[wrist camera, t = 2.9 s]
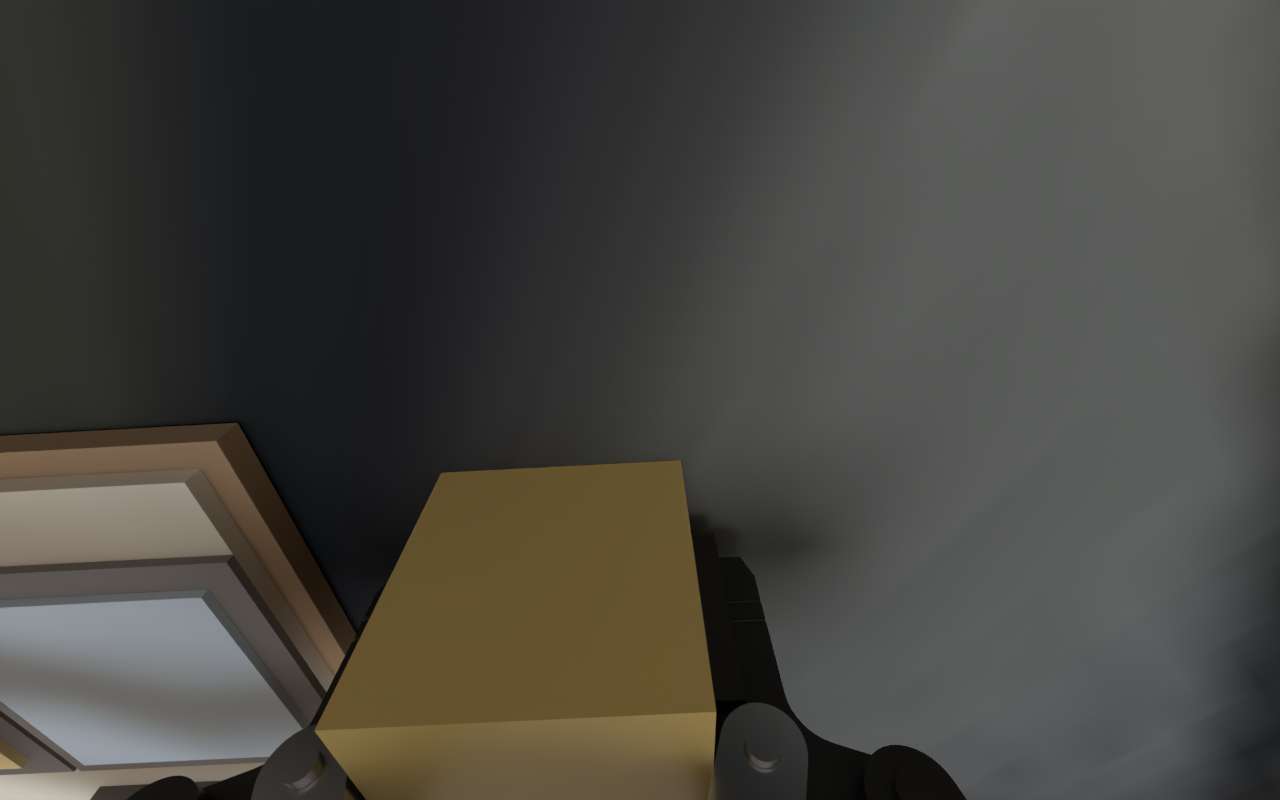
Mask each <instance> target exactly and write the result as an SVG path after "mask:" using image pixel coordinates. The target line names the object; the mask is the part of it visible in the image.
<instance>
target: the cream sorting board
mask: <svg viewBox="0 0 1280 800" xmlns="http://www.w3.org/2000/svg"><path fill="white" fill-rule="evenodd" d="M355 635H356V633H355V631H354V629H353V627H352V626H351V624H350V622H349V620H348V619H347V617H346V615H345V613H344V611H343V610H342V608H341V606H340V604H339V603H338V601H337V599H336V597H335V595H334V594H333V592H332V590H331V588H330V586H329V585H328V583H327V581H326V579H325V578H324V576H323V574H322V572H321V570H320V569H319V567H318V565H317V563H316V562H315V560H314V558H313V556H312V554H311V553H310V551H309V549H308V547H307V546H306V544H305V542H304V540H303V538H302V537H301V535H300V533H299V531H298V529H297V528H296V526H295V524H294V522H293V521H292V519H291V517H290V515H289V513H288V512H287V510H286V508H285V506H284V505H283V503H282V501H281V499H280V497H279V496H278V494H277V492H276V490H275V488H274V487H273V485H272V483H271V481H270V480H269V478H268V476H267V474H266V472H265V471H264V469H263V467H262V465H261V464H260V462H259V460H258V458H257V456H256V455H255V453H254V451H253V449H252V448H251V446H250V444H249V442H248V440H247V439H246V437H245V435H244V433H243V431H242V430H241V428H240V426H239V424H238V423H225V424H207V425H189V426H171V427H153V428H134V429H116V430H98V431H80V432H61V433H43V434H25V435H7V436H0V800H126V799H127V798H129V797H130V796H131V795H133V794H134V793H135V792H137V791H139V790H140V789H142V788H143V787H145V786H147V785H149V784H151V783H153V782H155V781H157V780H160V779H162V778H166V777H170V776H179V775H180V776H186V777H188V778H190V779H192V780H193V781H194V782H195V783H196V784H197V785H198V786H199V787H201V788H204V787H207V786H209V785H212V784H215V783H217V782H220V781H223V780H225V779H228V778H231V777H233V776H236V775H238V774H241V773H244V772H246V771H249V770H252V769H254V768H257V767H259V766H261V765H263V764H265V762H266V761H267V759H268V758H269V757H270V756H271V754H272V753H273V752H274V751H275V750H276V749H277V748H278V747H279V746H280V745H281V744H282V743H283V742H284V741H285V740H287V739H288V738H289V737H291V736H292V735H294V734H295V733H297V732H299V731H300V730H302V729H304V728H307V727H308V726H309V724H310V723H311V721H312V720H313V718H314V716H315V714H316V712H317V710H318V708H319V706H320V705H321V703H322V701H323V699H324V697H325V695H326V693H327V691H328V689H329V687H330V685H331V683H332V681H333V679H334V677H335V675H336V673H337V671H338V669H339V667H340V665H341V663H342V661H343V659H344V657H345V655H346V653H347V651H348V649H349V647H350V645H351V643H352V642H353V641H354V640H355Z"/></svg>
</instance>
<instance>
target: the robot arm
mask: <svg viewBox="0 0 1280 800" xmlns="http://www.w3.org/2000/svg"><path fill="white" fill-rule="evenodd" d="M691 536H692V543H693V550H694V557H695V564H696V571H697V578H698V585H699V592H700V599H701V606H702V613H703V621H704V628H705V635H706V642H707V649H708V656H709V663H710V670H711V677H712V684H713V691H714V698H715V705H716V730H715V749H714V769H713V774H712V780H711V785H710V790H709V795H708V800H966V798H965V797H964V795H963V794H962V792H961V791H960V789H959V788H958V786H957V785H956V784H955V782H954V781H953V779H952V778H951V777H950V776H949V774H948V773H947V772H946V771H945V770H944V769H943V768H942V767H941V766H940V765H939V764H938V763H937V762H936V761H934V760H933V759H932V758H930V757H929V756H927V755H926V754H924V753H922V752H920V751H918V750H916V749H913V748H910V747H907V746H902V745H889V746H885V747H882V748H880V749H878V750H877V751H876V752H874V753H873V754H872V755H870V754H866V753H863V752H860V751H857V750H854V749H850V748H847V747H844V746H841V745H838V744H834V743H832V742H829V741H827V740H824V739H822V738H821V737H819V736H817V735H815V734H814V733H813V732H811V731H810V730H809V729H807V728H806V727H805V726H804V725H803V724H802V723H801V722H800V721H799V719H798V718H797V717H796V716H795V714H794V713H793V711H792V710H791V708H790V706H789V704H788V702H787V699H786V696H785V693H784V689H783V686H782V682H781V678H780V674H779V670H778V666H777V662H776V658H775V655H774V651H773V647H772V643H771V639H770V635H769V631H768V627H767V624H766V622H765V616H764V612H763V608H762V604H761V603H760V597H759V593H758V589H757V585H756V581H755V577H754V575H753V574H752V572H751V571H750V570H749V568H748V567H747V566H746V565H745V563H744V562H743V561H742V559H741V558H740V557H725V558H719V557H718V552H717V547H716V542H715V537H714V534H713V533H705V534H691ZM386 584H387V583H386ZM386 584H385V585H384V586H383V587H382V588H381V589H380V590H379V591H378V592H377V593H376V595H375V597H374V599H373V601H372V603H371V605H370V607H369V609H368V611H367V613H366V615H365V620H364V622H362V623H361V625H360V627H359V629H358V631H357V633H356V635H355V640H354V641H353V642H352V643H351V645H350V647H349V649H348V651H347V653H346V655H345V657H344V659H343V661H342V663H341V665H340V667H339V669H338V671H337V673H336V675H335V677H334V679H333V681H332V683H331V685H330V687H329V689H328V691H327V693H326V695H325V697H324V699H323V701H322V703H321V705H320V706H319V708H318V710H317V712H316V714H315V716H314V718H313V720H312V721H311V723H310V724H309V726H308V727H307V728H304V729H302V730H300V731H299V732H297V733H295V734H294V735H292V736H291V737H289V738H288V739H287V740H285V741H284V742H283V743H282V744H281V745H280V746H279V747H278V748H277V749H276V750H275V751H274V752H273V753H272V754H271V756H270V757H269V758H268V759H267V761H266V762H265V764H263V765H261V766H259V767H257V768H254V769H252V770H249V771H246V772H244V773H241V774H238V775H236V776H233V777H231V778H228V779H225V780H223V781H220V782H217V783H215V784H212V785H209V786H207V787H204V788H201V787H199V786H198V785H197V784H196V783H195V782H194V781H193V780H192V779H190V778H188V777H186V776H180V775H179V776H170V777H166V778H162V779H160V780H157V781H155V782H153V783H151V784H149V785H147V786H145V787H143V788H142V789H140V790H139V791H137V792H135V793H134V794H133V795H131V796H130V797H129V798H127V799H126V800H366V799H365V798H364V796H363V795H362V794H361V792H360V791H359V790H358V788H357V787H356V786H355V784H354V783H353V782H352V780H351V779H350V778H349V776H348V775H347V774H346V772H345V771H344V770H343V768H342V767H341V766H340V764H339V763H338V762H337V760H336V759H335V758H334V756H333V755H332V754H331V752H330V751H329V750H328V748H327V747H326V746H325V744H324V743H323V742H322V740H321V739H320V738H319V736H318V735H317V734H316V732H315V728H316V726H317V724H318V722H319V720H320V718H321V716H322V714H323V712H324V710H325V708H326V706H327V704H328V702H329V700H330V698H331V696H332V694H333V692H334V690H335V688H336V686H337V684H338V682H339V680H340V678H341V676H342V674H343V672H344V670H345V667H346V665H347V663H348V661H349V659H350V657H351V655H352V653H353V651H354V649H355V647H356V645H357V643H358V641H359V639H360V637H361V635H362V633H363V631H364V629H365V627H366V625H367V623H368V621H369V619H370V617H371V615H372V613H373V611H374V609H375V606H376V604H377V602H378V600H379V598H380V596H381V594H382V592H383V590H384V588H385V586H386Z"/></svg>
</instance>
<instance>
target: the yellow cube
mask: <svg viewBox="0 0 1280 800" xmlns="http://www.w3.org/2000/svg"><path fill="white" fill-rule="evenodd" d="M715 730H716V705H715V698H714V691H713V684H712V677H711V670H710V663H709V656H708V649H707V642H706V635H705V628H704V621H703V613H702V606H701V599H700V592H699V585H698V578H697V571H696V564H695V557H694V550H693V543H692V536H691V529H690V522H689V514H688V507H687V500H686V493H685V486H684V479H683V472H682V465H681V460H675V461H656V462H637V463H617V464H598V465H579V466H560V467H541V468H522V469H503V470H484V471H465V472H445V473H441V474H440V476H439V478H438V480H437V482H436V485H435V487H434V489H433V491H432V493H431V495H430V497H429V499H428V501H427V503H426V505H425V507H424V509H423V511H422V513H421V515H420V517H419V519H418V521H417V523H416V525H415V527H414V529H413V531H412V533H411V535H410V537H409V539H408V541H407V543H406V545H405V548H404V550H403V552H402V554H401V556H400V558H399V560H398V562H397V564H396V566H395V568H394V570H393V572H392V574H391V576H390V578H389V580H388V582H387V584H386V586H385V588H384V590H383V592H382V594H381V596H380V598H379V600H378V602H377V604H376V606H375V609H374V611H373V613H372V615H371V617H370V619H369V621H368V623H367V625H366V627H365V629H364V631H363V633H362V635H361V637H360V639H359V641H358V643H357V645H356V647H355V649H354V651H353V653H352V655H351V657H350V659H349V661H348V663H347V665H346V667H345V670H344V672H343V674H342V676H341V678H340V680H339V682H338V684H337V686H336V688H335V690H334V692H333V694H332V696H331V698H330V700H329V702H328V704H327V706H326V708H325V710H324V712H323V714H322V716H321V718H320V720H319V722H318V724H317V726H316V728H315V732H316V734H317V735H318V736H319V738H320V739H321V740H322V742H323V743H324V744H325V746H326V747H327V748H328V750H329V751H330V752H331V754H332V755H333V756H334V758H335V759H336V760H337V762H338V763H339V764H340V766H341V767H342V768H343V770H344V771H345V772H346V774H347V775H348V776H349V778H350V779H351V780H352V782H353V783H354V784H355V786H356V787H357V788H358V790H359V791H360V792H361V794H362V795H363V796H364V798H365V799H366V800H708V795H709V790H710V785H711V780H712V774H713V769H714V749H715Z"/></svg>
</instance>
